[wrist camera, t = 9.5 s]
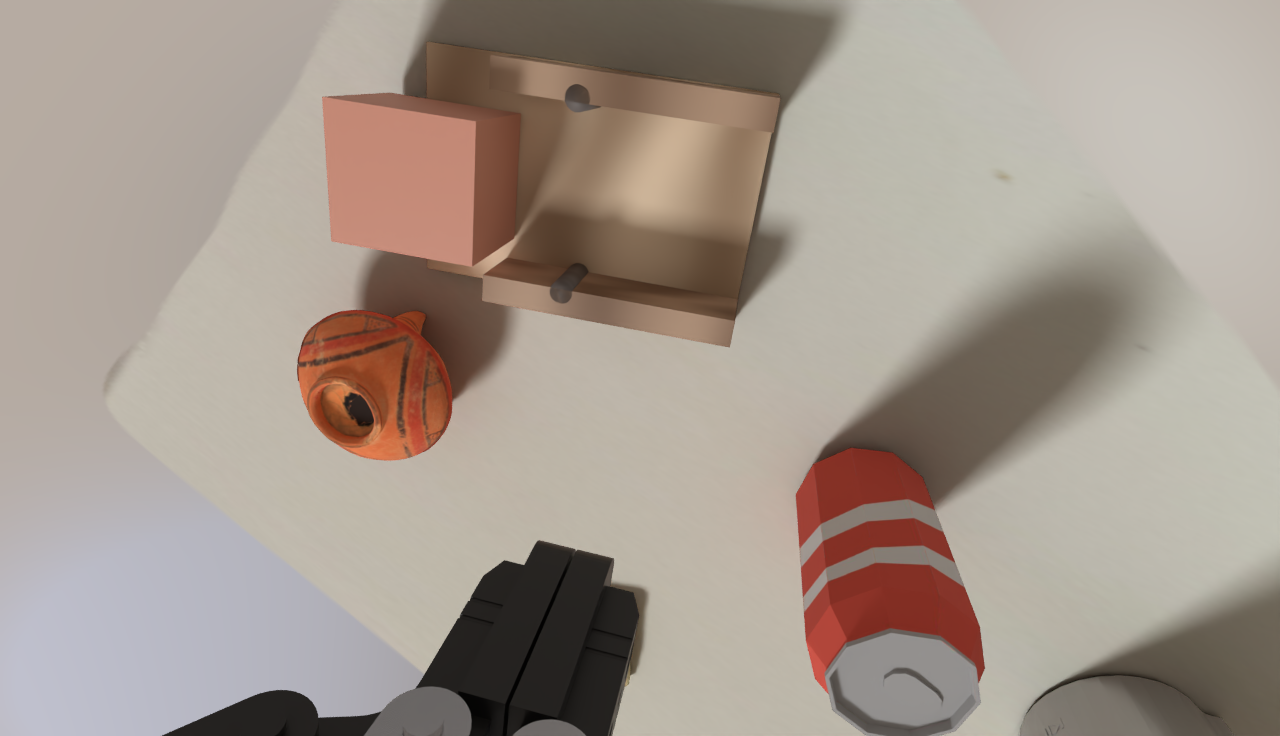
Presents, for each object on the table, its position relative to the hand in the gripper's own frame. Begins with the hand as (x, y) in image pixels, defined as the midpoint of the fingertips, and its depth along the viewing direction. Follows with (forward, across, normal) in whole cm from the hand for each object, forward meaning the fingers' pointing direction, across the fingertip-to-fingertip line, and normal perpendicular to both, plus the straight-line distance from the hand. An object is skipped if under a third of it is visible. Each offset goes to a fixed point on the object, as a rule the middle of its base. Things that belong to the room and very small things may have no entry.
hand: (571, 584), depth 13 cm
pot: (+20, +14, +7) cm, 26 cm away
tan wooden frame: (+20, +5, -4) cm, 21 cm away
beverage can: (+21, -10, +9) cm, 25 cm away
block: (+20, +12, -4) cm, 23 cm away
